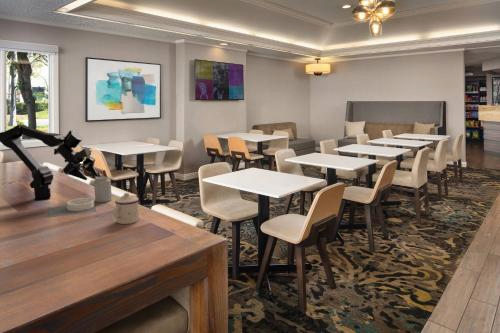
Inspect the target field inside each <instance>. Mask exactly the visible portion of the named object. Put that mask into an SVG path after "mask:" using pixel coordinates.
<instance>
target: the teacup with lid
mask: <svg viewBox="0 0 500 333" xmlns="http://www.w3.org/2000/svg"><path fill="white" fill-rule="evenodd" d="M139 200H140V199H139V197H137V196H133V195H131V194H130V193H129V192H124V193H123V195H121V196H120V197H118V198H116V199H115V201H114V203H115V208H113V210H112V214H113V217H114V219H115V220H116V222H117V223H118V224H120V225H121V224H122V225H131V224H135V223H138V222H139V220H140V211H139V210H140V208H139Z"/></svg>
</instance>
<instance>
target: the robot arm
mask: <svg viewBox="0 0 500 333" xmlns="http://www.w3.org/2000/svg"><path fill="white" fill-rule="evenodd" d="M23 136H26V137H30V138H32V139H35V140H39V141H41V142H42V143H43V144H44V145H46V146H48V147H49V148H53V155H60V156H61V157H62V158H63V159H64V162H65V163H67V164H66V166H64V167H63V169H62V170H63V173H64V174H65V175H69V176H72V177H75V178H77V179H81V180H84V181H88V178H87V176H86V175H85V174H84V173H83V171H82V170H81V167H82V168H83V169H84V171H86V172H87V173H90V174H91V175H93V176H95V177H99V174H98V172H97V170H96V168H95V163H96V162H95V161H96V158H95V157H93V156H91V155H92V150H91V149H90V148H89V147H85V148H83V149H81V150H80V151H75V150H74V149H76V147H78V146H79V144H80V143H81V142H82V141H83V139H84V138H83V136H82V135H81V134H80V133H79V132H77V131H74V130H73V129H72V130H69V131H68V133H67V134H66V135H65V136H63V135H62V134H60V133H55V132H54V133H53V132H46V131H43V130H40V129H37V128H33V127H31V126H27V125H25V124H17V125H15V126H13V127H12V128H9V129H7V130H5V131H0V144H1V145H3V146H4V147H6V148H8V149H10V150H11V151H13V153H14V154H15V155H16V156H17V157H18V158H19V159H20V161H22V163H23V164H24V165H25V166H26V167H27V168H28V169H29V170H30V172H31V178H32V179H33V180H32V181H31V182H30V183H29V187H30V188H31V189H33V191H34V201H42V200H49V199H50V198H51V196H52V195H51V194H52V193H51V188H50V187H49V186H51V185H52V182H53V180H54V174H53V171H52V170H51V169H50V168H49V166H48V165H45V166H42V165H41V164H39V162H38V161H37V159H35V157H34V156H33V155H32V154H31V153H30V152H29V151H28V149H27V148H25V146H24V145H23V144H22V137H23ZM54 147H57V148H54Z"/></svg>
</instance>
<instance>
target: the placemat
mask: <svg viewBox="0 0 500 333" xmlns="http://www.w3.org/2000/svg"><path fill="white" fill-rule="evenodd" d="M96 212H97V207H96V205H95V203H94V207H93V208H92V209H89V210H84V211H69V210H67V205H60V206H51V207H48V213H47V218H57V217H63V216H64V217H65V216H73V215H80V214H88V213H89V214H90V213H96Z"/></svg>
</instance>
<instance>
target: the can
mask: <svg viewBox="0 0 500 333" xmlns="http://www.w3.org/2000/svg"><path fill="white" fill-rule="evenodd" d="M94 179H95V180H94V181H93V186H94V202H97V203H108V202H111V201H112V200H113V198H112V197H113V196H112V183H111V182H112V181H111V180H112V179H110V177H109V176H108V175H107V176H105V175H103V176H101V175H100V176H95V177H94Z"/></svg>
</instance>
